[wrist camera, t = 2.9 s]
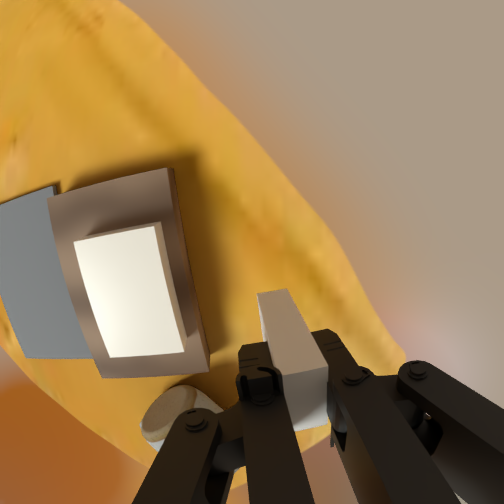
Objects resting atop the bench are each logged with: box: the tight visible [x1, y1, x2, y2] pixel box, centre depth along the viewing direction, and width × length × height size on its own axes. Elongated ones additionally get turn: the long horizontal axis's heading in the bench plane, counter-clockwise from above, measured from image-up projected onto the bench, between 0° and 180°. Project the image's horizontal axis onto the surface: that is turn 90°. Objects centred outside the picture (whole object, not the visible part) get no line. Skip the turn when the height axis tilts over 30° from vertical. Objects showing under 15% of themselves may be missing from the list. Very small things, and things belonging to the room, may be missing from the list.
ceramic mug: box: [140, 385, 239, 473], centre depth 23 cm, size 11×8×8 cm
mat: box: [0, 185, 93, 359], centre depth 21 cm, size 16×10×1 cm, turn 8°
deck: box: [47, 168, 210, 378], centre depth 21 cm, size 16×10×2 cm, turn 8°
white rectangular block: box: [74, 221, 187, 358], centre depth 19 cm, size 9×6×2 cm, turn 8°
